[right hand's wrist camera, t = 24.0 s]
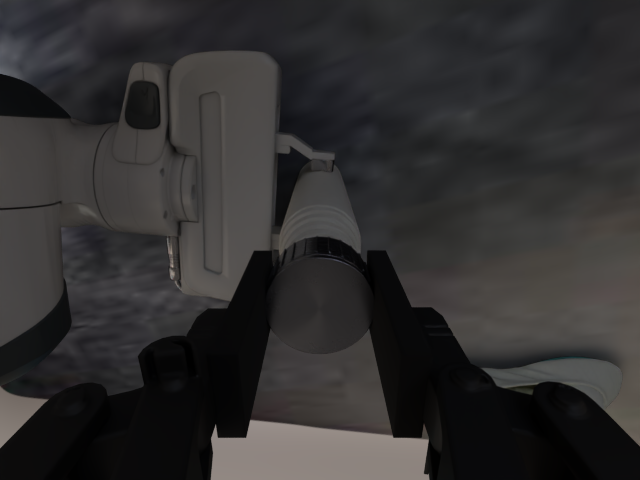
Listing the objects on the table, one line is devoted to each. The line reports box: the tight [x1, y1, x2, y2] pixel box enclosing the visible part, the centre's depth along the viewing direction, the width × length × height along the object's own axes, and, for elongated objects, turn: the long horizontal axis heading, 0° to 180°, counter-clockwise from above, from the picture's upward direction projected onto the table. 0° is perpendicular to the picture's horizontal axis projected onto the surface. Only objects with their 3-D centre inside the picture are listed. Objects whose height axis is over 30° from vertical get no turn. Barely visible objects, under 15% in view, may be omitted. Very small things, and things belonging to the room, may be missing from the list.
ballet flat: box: [481, 357, 623, 410], centre depth 39 cm, size 8×24×8 cm, turn 91°
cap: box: [265, 236, 374, 354], centre depth 14 cm, size 4×4×2 cm
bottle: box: [279, 161, 361, 255], centre depth 24 cm, size 4×4×23 cm
